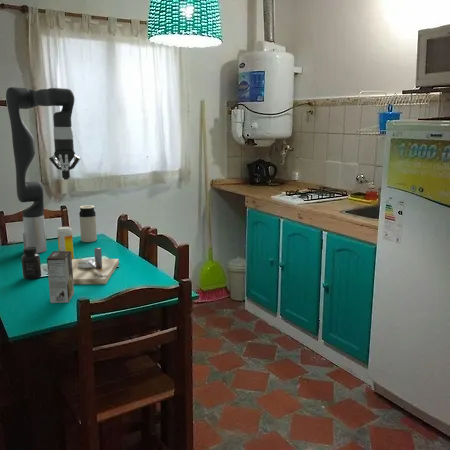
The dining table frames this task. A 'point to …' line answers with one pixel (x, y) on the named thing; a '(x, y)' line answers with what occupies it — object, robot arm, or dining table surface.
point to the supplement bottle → (31, 263)
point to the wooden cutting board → (93, 272)
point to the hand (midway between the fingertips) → (66, 179)
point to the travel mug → (88, 223)
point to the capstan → (93, 261)
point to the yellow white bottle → (65, 239)
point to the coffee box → (60, 276)
